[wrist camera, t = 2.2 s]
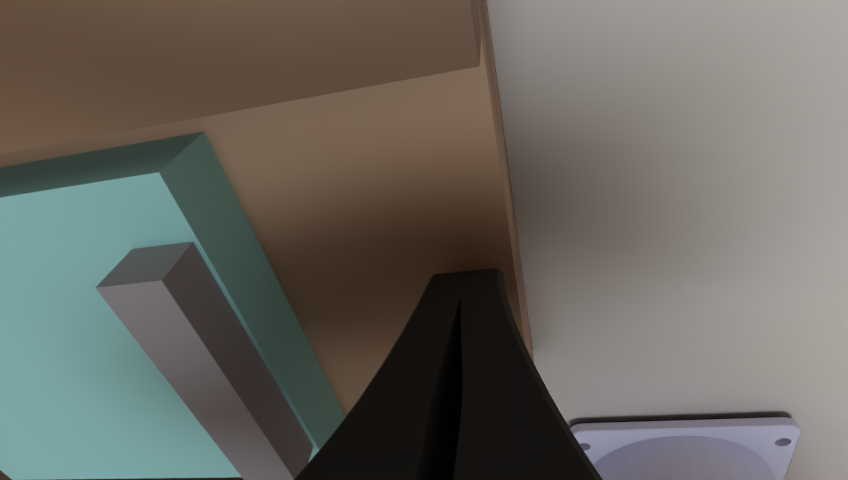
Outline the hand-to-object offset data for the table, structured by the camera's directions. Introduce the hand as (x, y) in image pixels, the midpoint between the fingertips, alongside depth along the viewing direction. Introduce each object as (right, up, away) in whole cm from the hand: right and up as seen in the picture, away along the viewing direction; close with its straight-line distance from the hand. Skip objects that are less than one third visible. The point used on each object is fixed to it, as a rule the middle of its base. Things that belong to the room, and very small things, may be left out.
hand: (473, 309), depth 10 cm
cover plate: (-9, -1, +2) cm, 9 cm away
